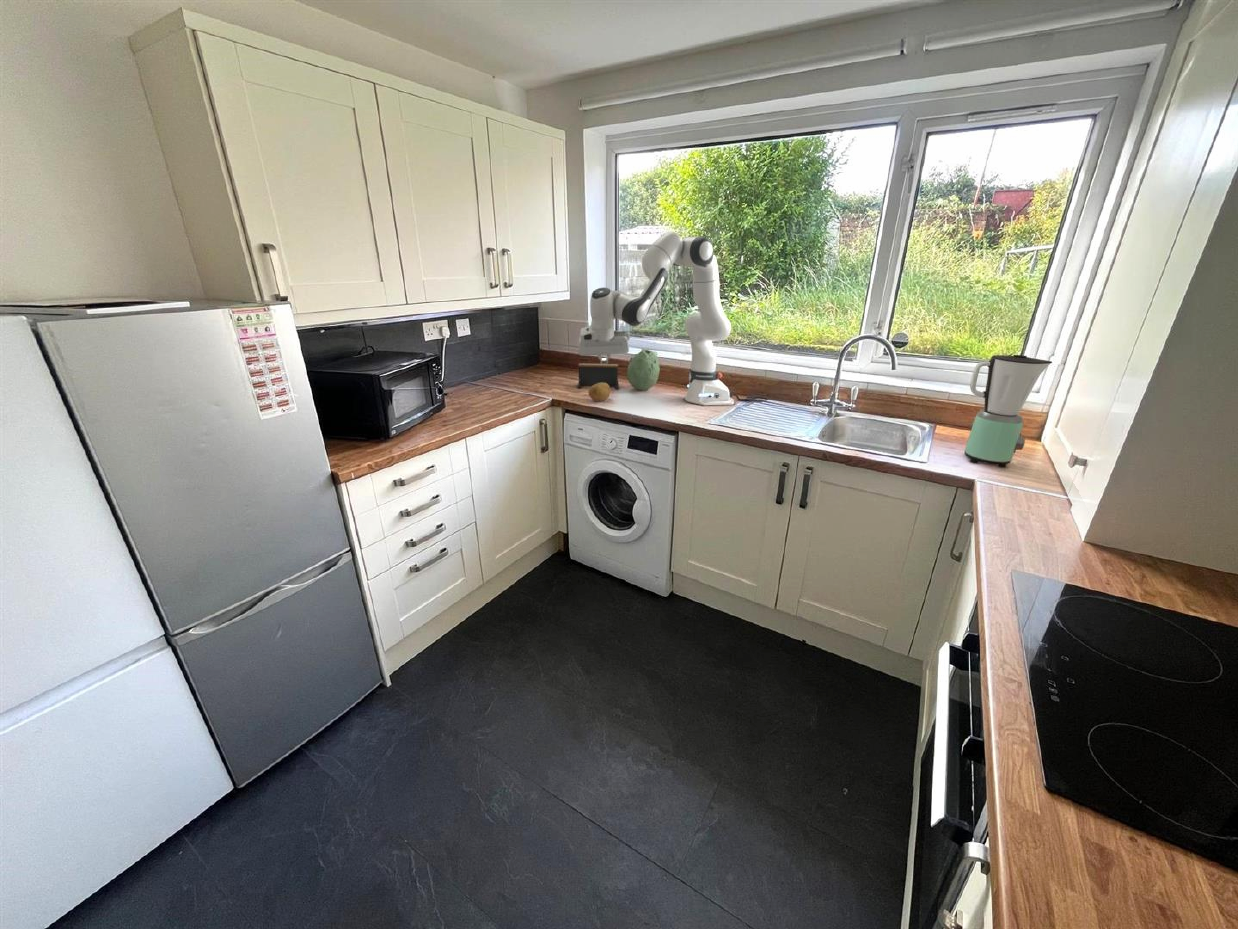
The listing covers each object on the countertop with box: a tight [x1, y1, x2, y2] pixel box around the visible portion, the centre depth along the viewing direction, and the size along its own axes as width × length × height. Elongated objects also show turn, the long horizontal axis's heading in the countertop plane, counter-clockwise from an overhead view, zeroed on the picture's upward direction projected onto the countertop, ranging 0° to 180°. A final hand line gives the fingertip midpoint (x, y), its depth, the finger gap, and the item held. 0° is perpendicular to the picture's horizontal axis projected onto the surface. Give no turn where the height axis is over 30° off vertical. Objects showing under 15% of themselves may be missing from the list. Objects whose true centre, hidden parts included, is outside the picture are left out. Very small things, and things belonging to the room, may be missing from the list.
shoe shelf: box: [577, 362, 620, 391], centre depth 250 cm, size 20×9×11 cm, turn 94°
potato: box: [587, 382, 612, 402], centre depth 225 cm, size 10×14×8 cm
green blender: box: [964, 354, 1053, 469], centre depth 161 cm, size 19×13×35 cm
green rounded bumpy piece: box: [626, 347, 661, 392], centre depth 245 cm, size 16×19×20 cm
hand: (604, 363), depth 202 cm, fingers closed
